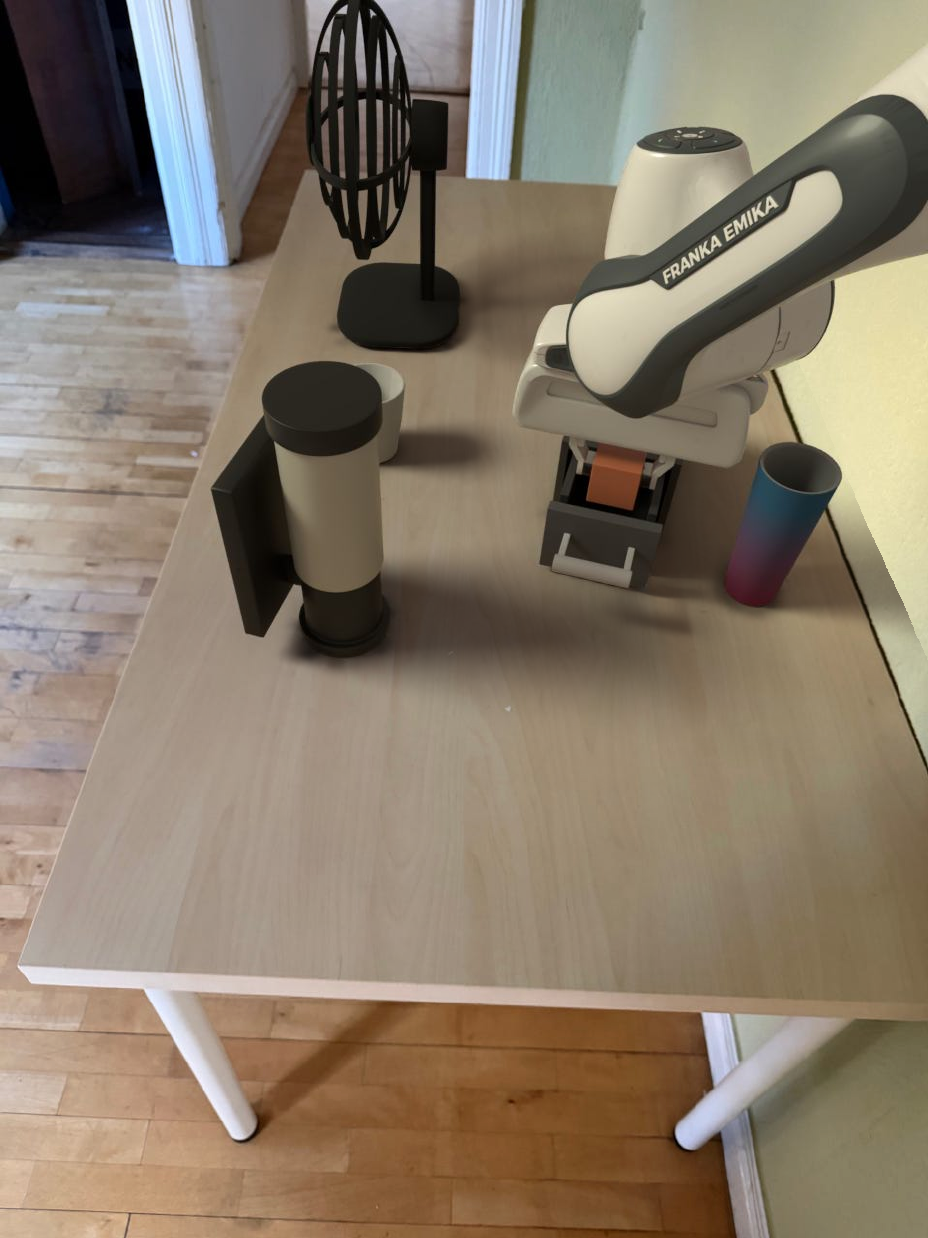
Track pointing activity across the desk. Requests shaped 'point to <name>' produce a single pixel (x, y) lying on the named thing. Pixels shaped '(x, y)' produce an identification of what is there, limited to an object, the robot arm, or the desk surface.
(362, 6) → the desk fan
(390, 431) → the cup
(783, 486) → the cup
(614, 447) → the block
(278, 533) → the light fixture
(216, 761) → the desk surface
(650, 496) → the drawer
